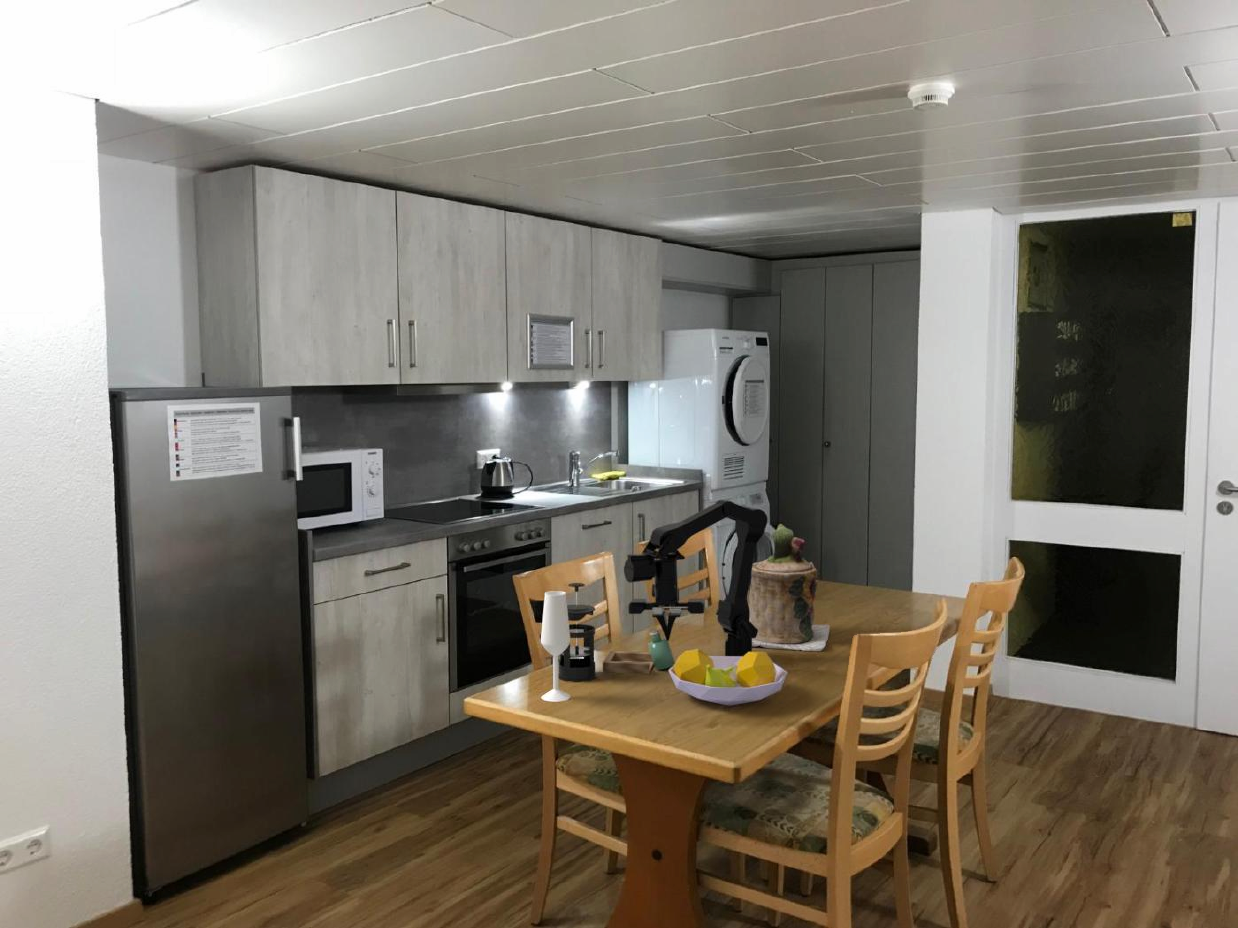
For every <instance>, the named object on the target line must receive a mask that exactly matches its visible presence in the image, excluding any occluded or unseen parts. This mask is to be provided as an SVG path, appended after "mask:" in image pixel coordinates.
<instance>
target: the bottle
mask: <svg viewBox="0 0 1238 928" xmlns="http://www.w3.org/2000/svg"><path fill="white" fill-rule="evenodd" d="M660 633H661V632H660V630H659V629H657V630H653V631H651V632H649V636H650V638H651V639H652V641H650V642H648V644H647V647H648V650H649V653H650V654H651V657H652V660H653V663H654V664H653V666H654V670H657V671H660V670H664V669H667V668H671V667H673V666H674V664H675V663H676V661H675V658H674V655H673V652H672V649H671V646H670V643H669V641H667V639H666V637H663V638H662V637H661V634H660Z"/></svg>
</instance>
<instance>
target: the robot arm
mask: <svg viewBox="0 0 1238 928" xmlns="http://www.w3.org/2000/svg"><path fill="white" fill-rule="evenodd" d="M726 518H728V519H730V520H732V521H734V525H735V526H734V527H735V528H734V530H735V534H736V537H737V545H736V549H735V554H734V555H735V556H734V560H733V566H732V572H731V578H730V583H729V587H728V588H729V590H728V594H727V595H726V597H725V598H724V600H723V599H718V602H717V603H718V604H717V610H716V612H715V615H716V616H717V622H718V624H719V625H720V626H721V627H722V630H723V633H725V634H727V638H726V639H725V641H724V643H725V645H724V656H744V655H745V654H747V653H748V652H753V646H752V638H756V636H757V633H758V629H757V628H756V627H755V626H754V625H753V624H752V623H751V622H750V621H749V619H750V609H749V605H748V603H749V600H748V594H749V593H748V592H749V590H750V584H751V578H752V575H751V572H752V566H753V563H754V562H755V561H754V560H755V554H756V550H757V544H758V543H759V541H760V540H761V538H762V537H763V536H764V533H765V530H766V529H767V525H768V520H769V519H768V515H767V514H766V512H765V511H764V510H762V509H759V508H755V507H751V506H743V505H739V504H737V503H734V502H733V501H731V500H727V499H719V500H717V501H716V502H715V503H713V504H711V505H709V506H708V507H706V508H704V509H702V510H699V511H698V512H697V513H695V514H693V515H691V516H689V517H687V518H684V519H683V520H681V521H679V522H674V523H669V524H665V525H662V526H658V527H656V528H655V529H653V530H652V531H651V535H650V539H649V541H648V542H647V544H646V545H645V547H644V549H643V550H642V552H641V553H639V554H633V553H631V554H629V553H628V554H627V559H626V560H625V563H624V566H623V573H624V578H625V580H626V581H627V582H628V583H638V582H644V581H645V582H646V581H647V582H648V581H652V580H653V579H654V583H653V584H652V585H651V597H652V598H654V600H655V602H653V601H651V602H650V601H649V602H648V601H647V598H632V600H630V602H628V614H630V615H642V613H643V612H644V611H652V618H656V620H657V621H658V624H659V625H660V627H661V629H662V632H663V634H664V636H665V637H664V638H666V639H667V641H668V642H669V641H670V637H671V634H672V631H673V626H674V624H675V621H676V619H677V618H680V617H682V614H683V611H688V613H690V615H692V614H693V615H697V614H698V615H700V614H701V615H702V614H705V610H706V602H705V600H704V598H689V599H688V600H687V601H686V602H685V601H683V602H682V601H681V602H680V590H679V584H678V561H681V560H685V559H686V557H685V556H684V555H683V554H682V553H681V552H680V551H679V549H681V548H682V547H683V546H684V545H685V544H686V542H687V541H688V540H689V539H690V538H691V537H693V536H694V535H696V534H698V533H700V532H702V531H703V530H706V529H707V528H709V527H711V526H713V525H715V524H717V523H718V522H721V521H722V520H724V519H726ZM667 611H669V613H668V616H667Z"/></svg>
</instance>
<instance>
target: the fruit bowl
mask: <svg viewBox="0 0 1238 928" xmlns="http://www.w3.org/2000/svg"><path fill="white" fill-rule="evenodd" d="M667 671H668V673H669V675H670V677H671V679H672V681H673V683H674V685H675V687H676V689H678V690H679V691H682V692H683V693H686V694H688V695H690V696H692V697H694V698H696V699H698V700H702V701H706V702H711V703H716V704H719V705H723V706H728V707H731V706H735V705H741V704H745V703H746V704H747V703H751V702H756V701H757V702H758V701H761V700H763V699H765V698H768V697H769V696H771V695H773V694H775V693H778V692H780V691H781V689H782V687H783V685H784V682H785V679H786V677H787V675H788V671H787V670H786V669H784V668H783V667H781V666H779V665H777V664H776V663H775V662H773V660H772V658H771V657H770V656H769V655H768V653H766V651H752V652H748V653H747V654H745V655H744V656H725V655H707V654H706V653H705V652H704V651H703V650H701V649H700V648H695V649H689V650H685V651H683V652H682V653H681V654H680V655H678V657H677V659H676V661H675V664H674V665H672V666H671V667H670V668H669V669H668V670H667Z"/></svg>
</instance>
